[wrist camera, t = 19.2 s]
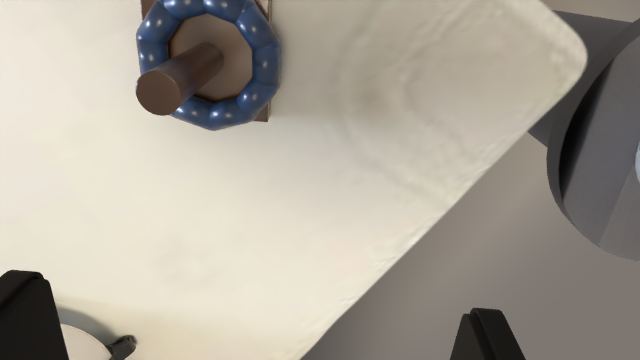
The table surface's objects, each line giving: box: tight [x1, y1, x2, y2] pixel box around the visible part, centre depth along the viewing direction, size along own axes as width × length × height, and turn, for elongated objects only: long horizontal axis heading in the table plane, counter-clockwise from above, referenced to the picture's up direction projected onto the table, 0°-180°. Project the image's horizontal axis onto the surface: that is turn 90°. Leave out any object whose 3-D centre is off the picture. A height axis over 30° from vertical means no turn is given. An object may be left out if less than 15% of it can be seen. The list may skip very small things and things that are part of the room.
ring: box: [136, 0, 281, 131], centre depth 30 cm, size 10×10×2 cm
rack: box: [136, 0, 272, 122], centre depth 27 cm, size 9×9×12 cm
